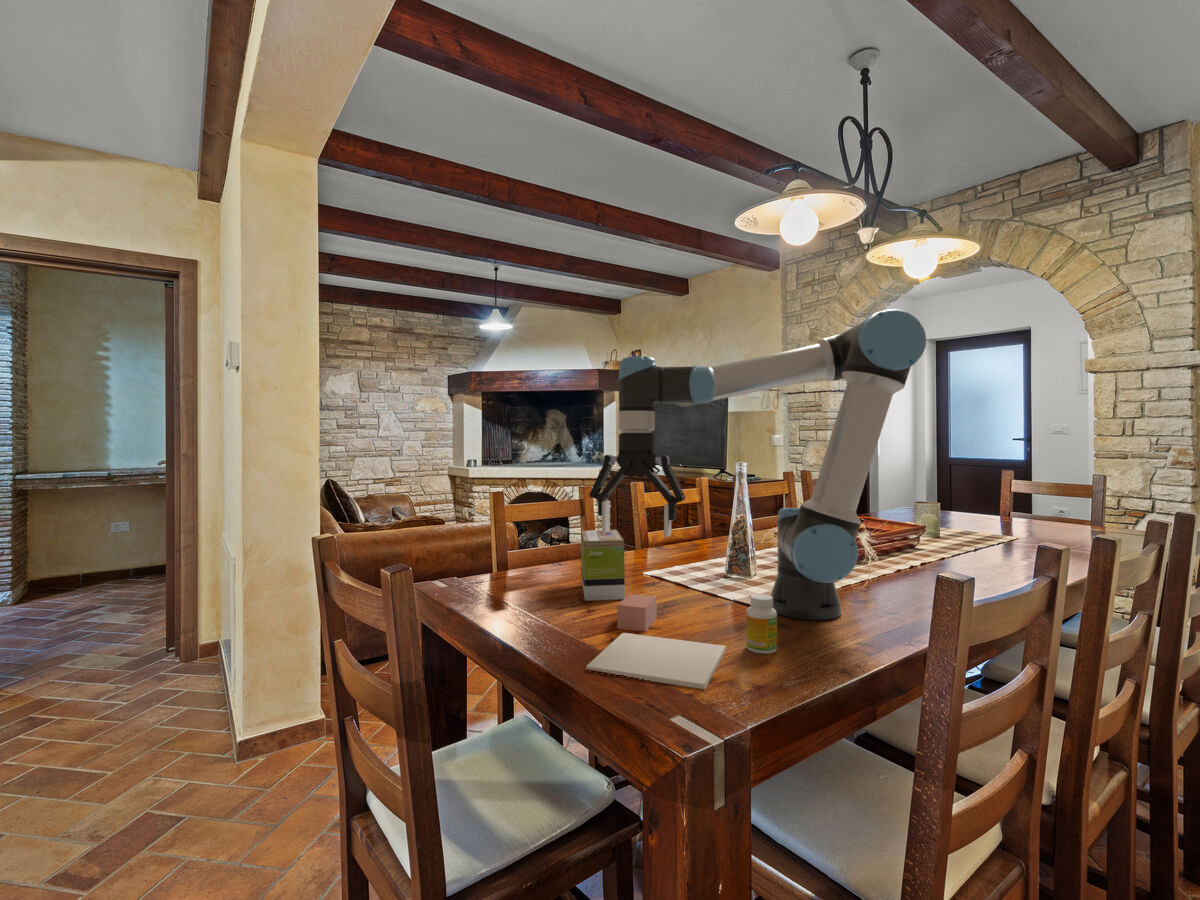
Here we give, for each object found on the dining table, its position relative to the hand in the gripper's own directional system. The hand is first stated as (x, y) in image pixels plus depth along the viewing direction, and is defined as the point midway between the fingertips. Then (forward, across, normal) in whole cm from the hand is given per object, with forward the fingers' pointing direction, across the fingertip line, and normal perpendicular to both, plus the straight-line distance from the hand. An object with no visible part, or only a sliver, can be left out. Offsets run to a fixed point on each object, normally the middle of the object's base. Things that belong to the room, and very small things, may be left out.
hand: (636, 533), depth 124 cm
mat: (+19, -10, +18) cm, 28 cm away
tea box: (+19, +16, -20) cm, 32 cm away
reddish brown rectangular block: (+19, 0, 0) cm, 19 cm away
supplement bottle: (+19, -26, +6) cm, 33 cm away
